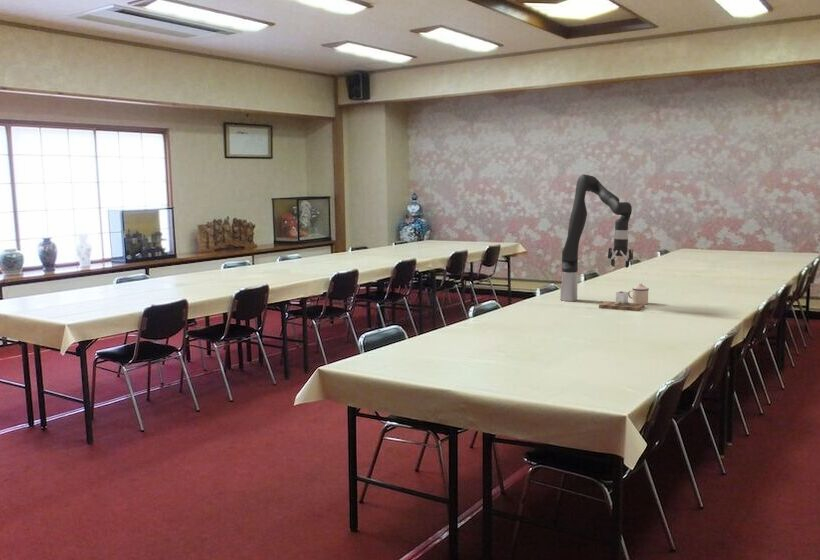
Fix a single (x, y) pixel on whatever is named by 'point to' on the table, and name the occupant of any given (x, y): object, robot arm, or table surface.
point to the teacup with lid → (639, 294)
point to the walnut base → (622, 306)
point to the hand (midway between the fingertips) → (619, 266)
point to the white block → (621, 297)
